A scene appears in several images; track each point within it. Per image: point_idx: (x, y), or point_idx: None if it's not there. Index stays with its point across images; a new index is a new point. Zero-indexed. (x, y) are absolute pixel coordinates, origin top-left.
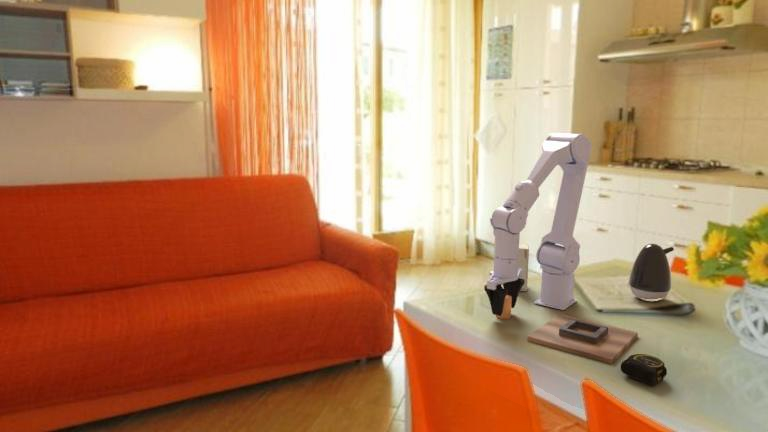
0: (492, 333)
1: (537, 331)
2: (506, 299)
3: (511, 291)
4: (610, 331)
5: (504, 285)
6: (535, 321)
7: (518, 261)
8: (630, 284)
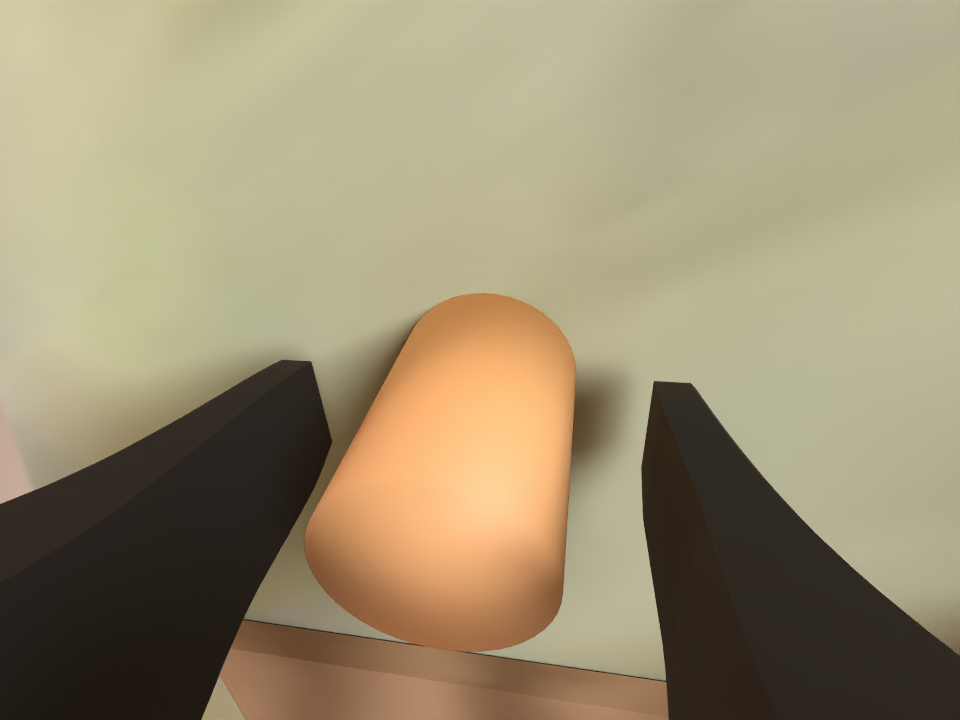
0: (89, 441)
1: (314, 670)
2: (359, 614)
3: (686, 663)
4: None
5: (738, 671)
6: (568, 597)
7: None
8: None
